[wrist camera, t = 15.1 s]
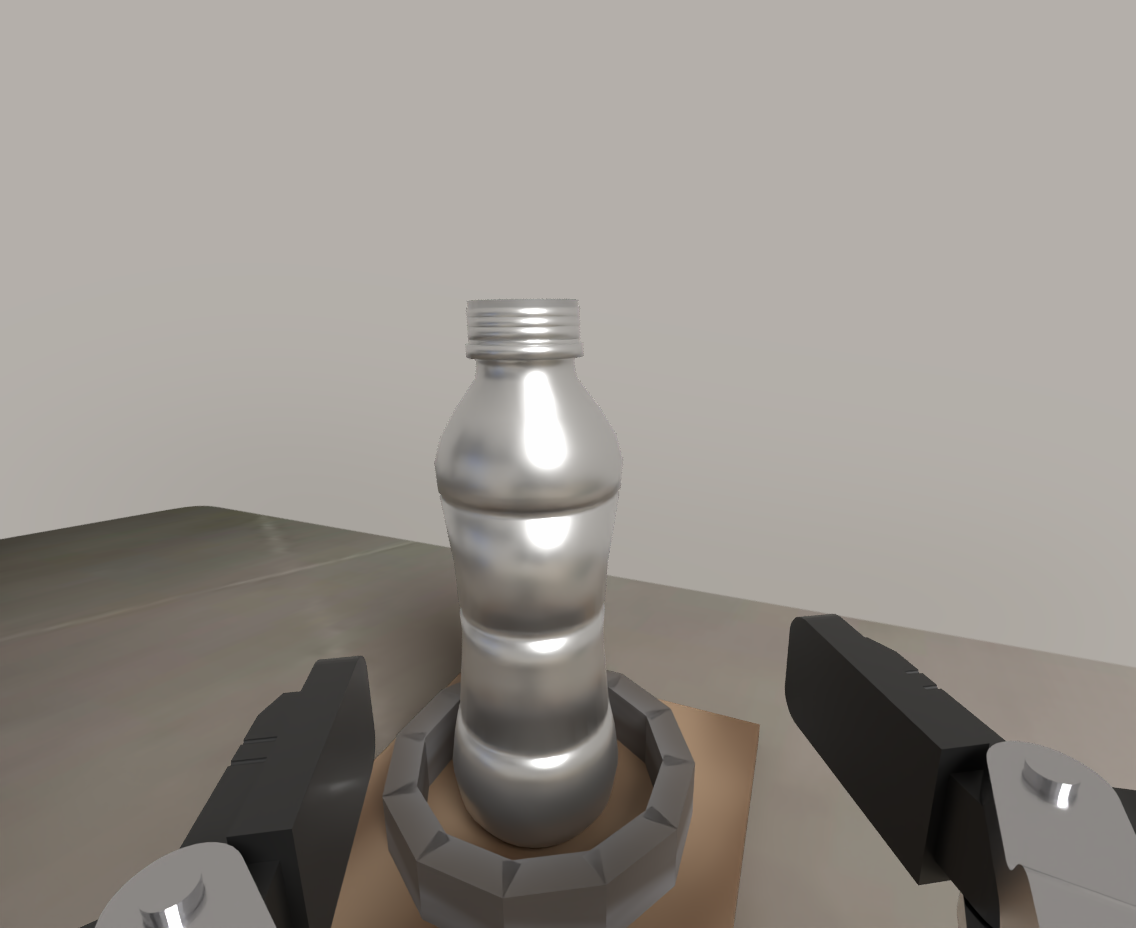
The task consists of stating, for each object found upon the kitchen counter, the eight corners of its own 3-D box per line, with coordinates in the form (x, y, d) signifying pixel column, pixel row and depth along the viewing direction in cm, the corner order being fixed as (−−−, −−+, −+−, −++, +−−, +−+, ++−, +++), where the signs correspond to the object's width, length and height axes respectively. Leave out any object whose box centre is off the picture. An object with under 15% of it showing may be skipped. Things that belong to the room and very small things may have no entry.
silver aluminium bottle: (524, 724, 28) (508, 303, 23) (647, 788, 24) (661, 299, 19) (422, 816, 23) (372, 301, 18) (557, 915, 19) (543, 295, 14)
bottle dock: (238, 925, 20) (221, 845, 19) (479, 668, 34) (476, 616, 33) (698, 1188, 14) (705, 1089, 13) (758, 741, 28) (763, 680, 27)
